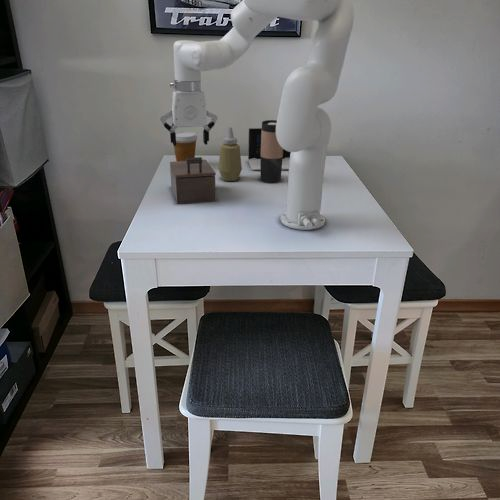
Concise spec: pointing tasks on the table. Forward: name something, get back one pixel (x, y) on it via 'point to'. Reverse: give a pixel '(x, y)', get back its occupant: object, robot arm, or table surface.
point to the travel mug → (270, 153)
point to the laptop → (255, 150)
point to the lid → (192, 168)
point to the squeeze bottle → (230, 158)
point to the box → (193, 188)
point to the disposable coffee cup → (185, 145)
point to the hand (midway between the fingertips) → (190, 144)
